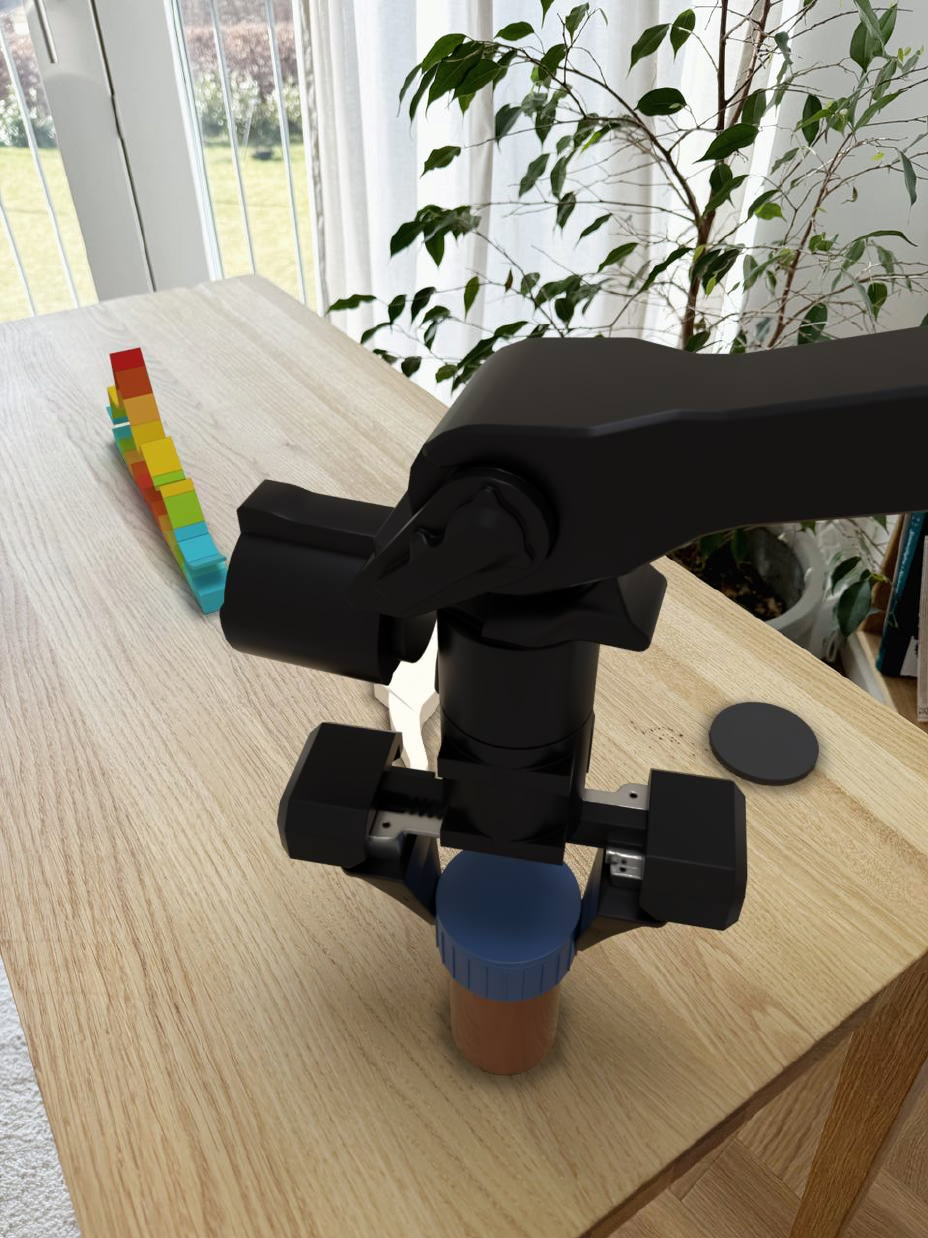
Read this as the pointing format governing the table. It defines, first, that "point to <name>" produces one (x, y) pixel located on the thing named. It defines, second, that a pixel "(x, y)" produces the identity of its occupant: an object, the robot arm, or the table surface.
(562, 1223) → the table surface
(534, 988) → the lid
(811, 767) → the coaster
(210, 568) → the chart
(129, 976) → the table surface
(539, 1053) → the jar
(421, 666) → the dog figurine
